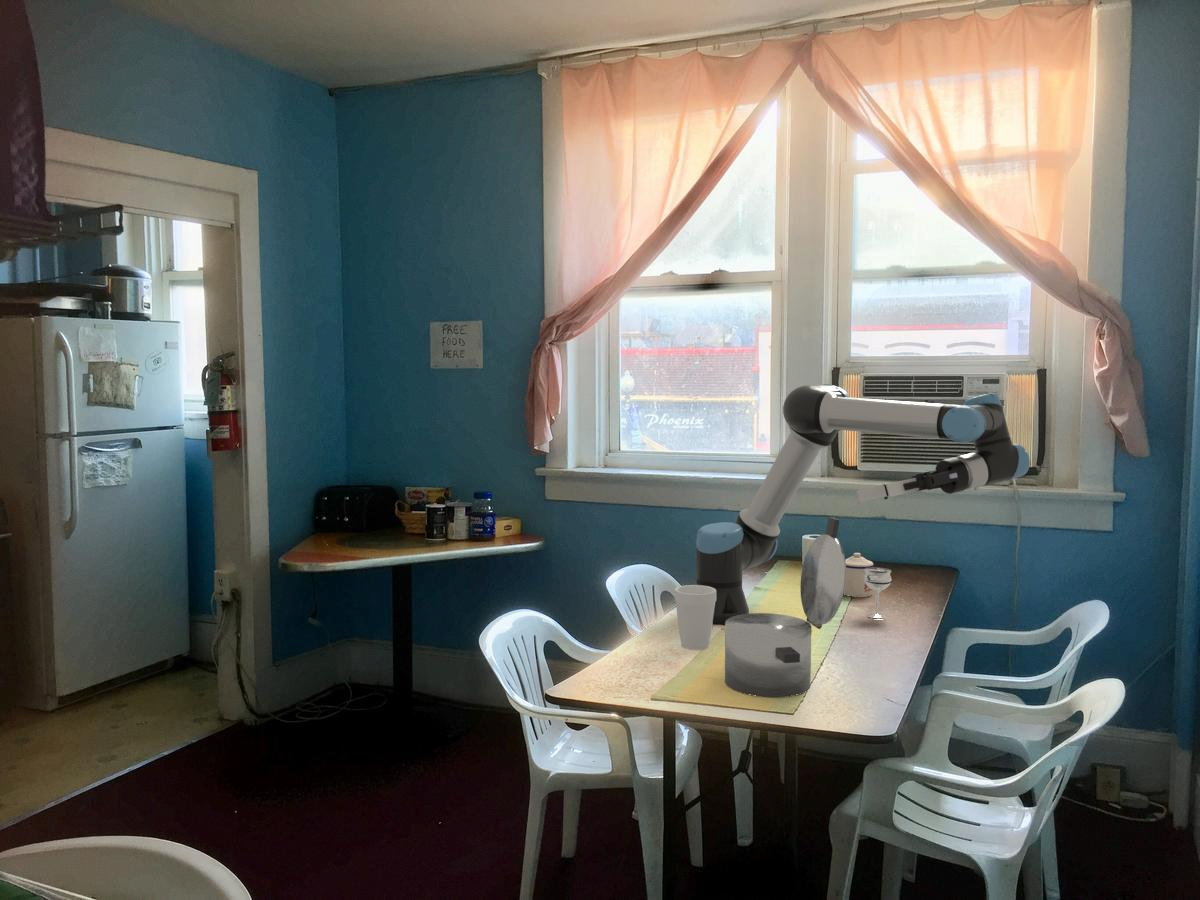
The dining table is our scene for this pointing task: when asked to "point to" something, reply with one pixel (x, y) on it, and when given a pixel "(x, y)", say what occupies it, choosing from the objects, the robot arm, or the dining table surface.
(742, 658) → the cooker pot
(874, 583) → the wineglass
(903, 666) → the dining table surface
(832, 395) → the robot arm
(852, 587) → the teacup with lid
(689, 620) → the foam cup
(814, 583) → the cooker lid
